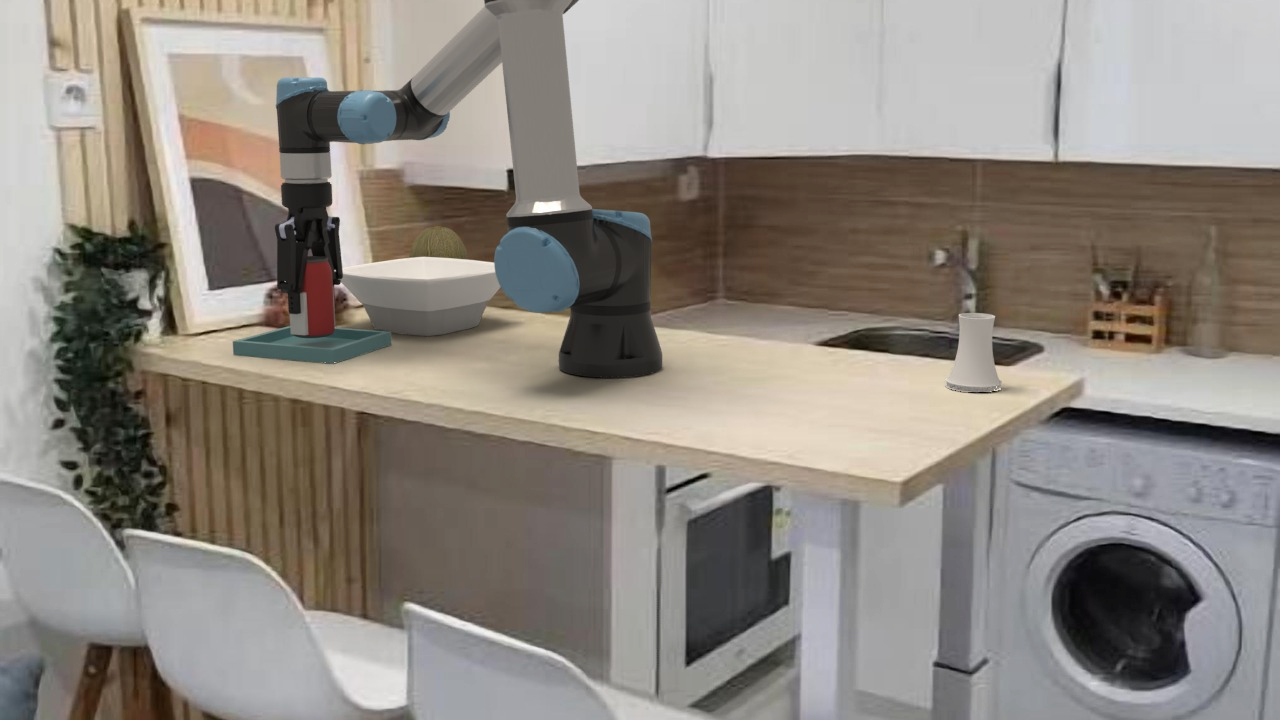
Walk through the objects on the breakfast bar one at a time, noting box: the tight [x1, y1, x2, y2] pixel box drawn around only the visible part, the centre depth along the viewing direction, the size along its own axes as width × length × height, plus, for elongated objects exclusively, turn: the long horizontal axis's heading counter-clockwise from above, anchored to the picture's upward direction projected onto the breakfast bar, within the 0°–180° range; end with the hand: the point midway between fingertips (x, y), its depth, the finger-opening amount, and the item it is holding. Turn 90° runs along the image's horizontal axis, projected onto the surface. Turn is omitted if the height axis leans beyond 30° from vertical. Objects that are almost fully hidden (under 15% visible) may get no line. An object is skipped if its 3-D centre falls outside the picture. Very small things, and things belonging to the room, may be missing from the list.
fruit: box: [408, 225, 470, 260], centre depth 254 cm, size 11×11×15 cm
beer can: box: [293, 255, 336, 338], centre depth 213 cm, size 7×7×12 cm
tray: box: [232, 325, 392, 364], centre depth 214 cm, size 18×16×2 cm
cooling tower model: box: [944, 312, 1003, 393], centre depth 188 cm, size 8×8×10 cm
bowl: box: [334, 257, 501, 337], centre depth 233 cm, size 24×25×10 cm
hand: (313, 330), depth 214 cm, fingers closed on beer can, 6 cm apart
